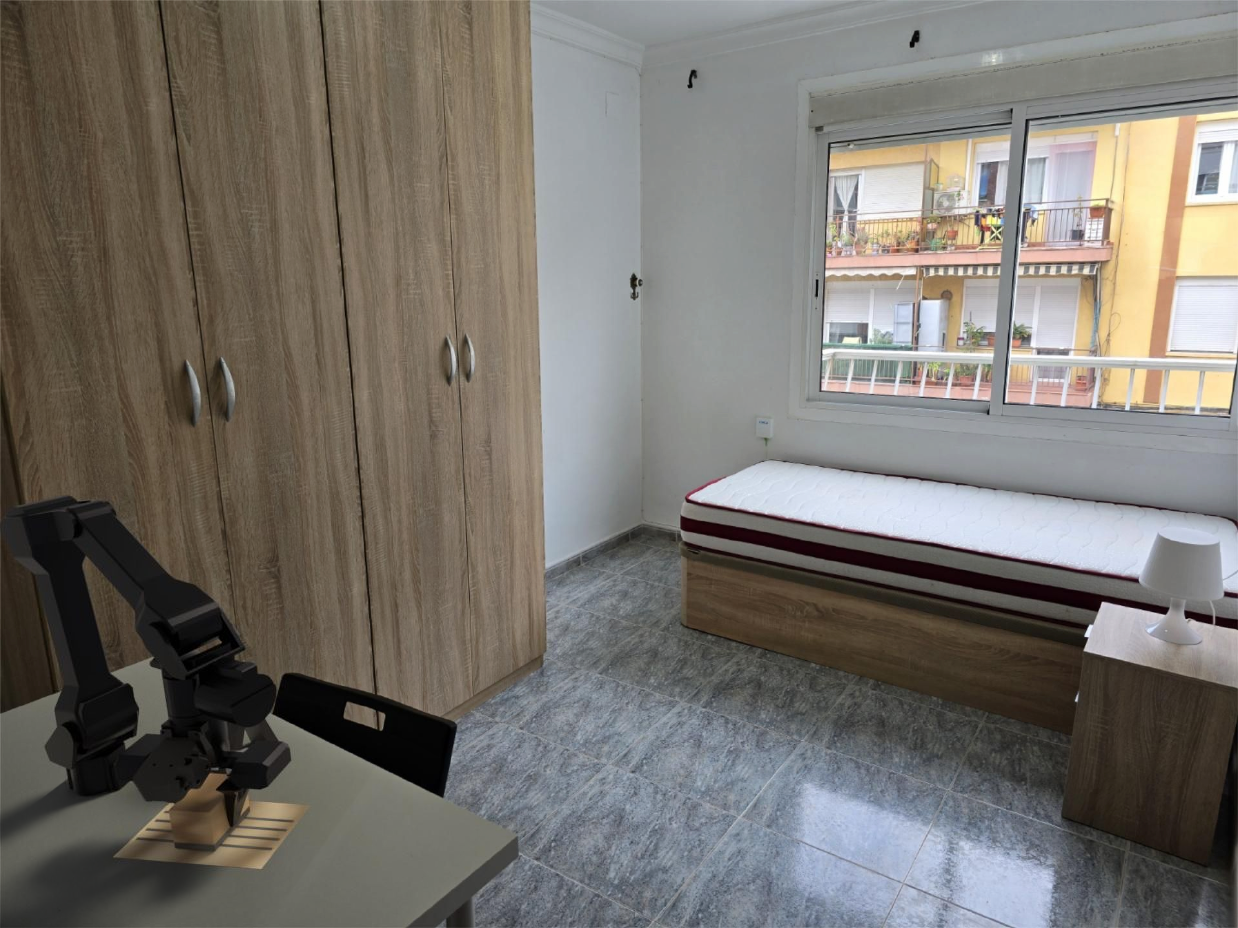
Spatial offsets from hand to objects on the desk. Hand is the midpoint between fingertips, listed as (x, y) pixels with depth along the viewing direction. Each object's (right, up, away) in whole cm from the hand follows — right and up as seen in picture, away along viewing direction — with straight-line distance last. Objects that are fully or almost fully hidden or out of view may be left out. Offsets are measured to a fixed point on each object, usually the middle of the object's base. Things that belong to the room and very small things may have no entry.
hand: (213, 823), depth 93 cm
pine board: (0, -2, +1) cm, 2 cm away
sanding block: (0, -1, 0) cm, 1 cm away
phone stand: (-3, +1, +15) cm, 15 cm away
